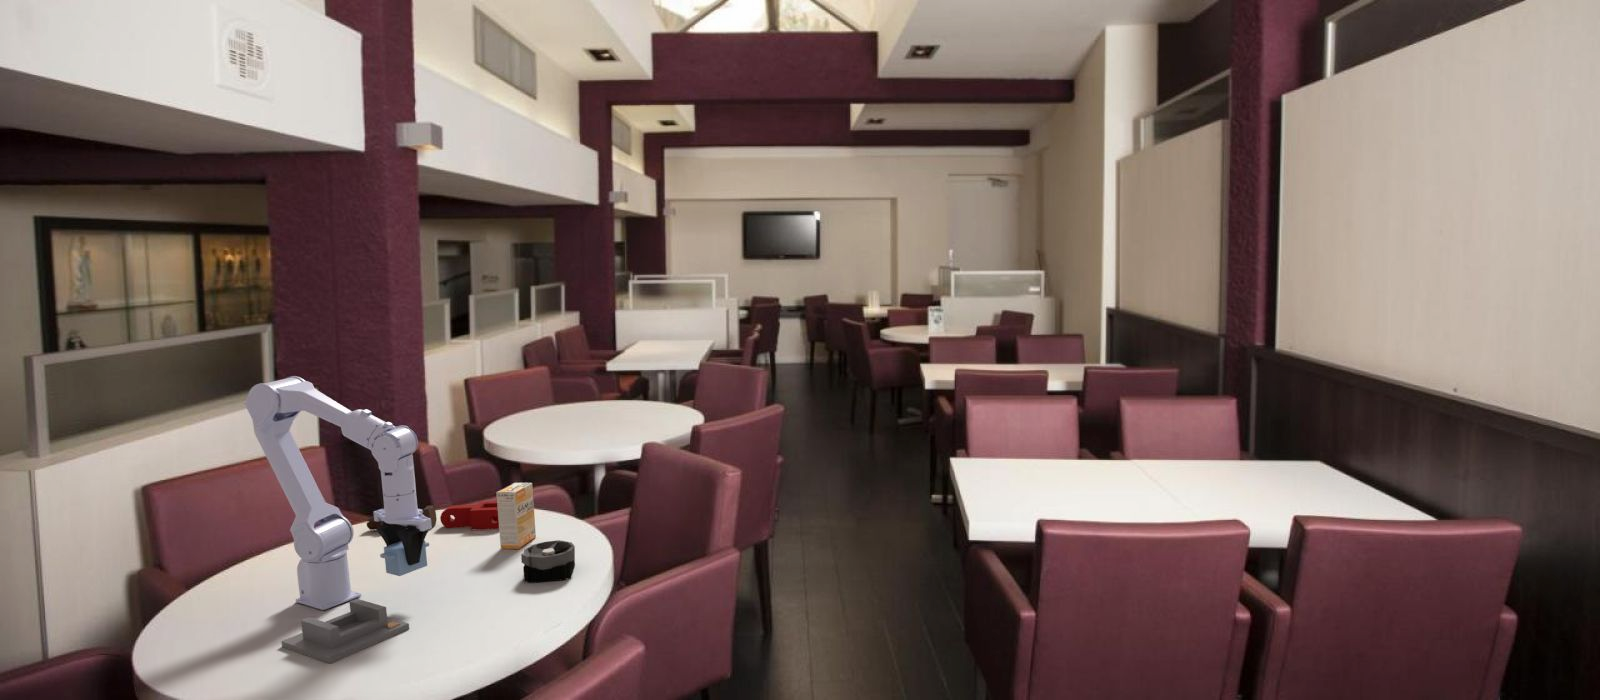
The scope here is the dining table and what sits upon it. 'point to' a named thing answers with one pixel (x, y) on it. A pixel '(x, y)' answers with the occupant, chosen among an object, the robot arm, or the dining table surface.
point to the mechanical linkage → (472, 516)
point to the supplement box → (516, 515)
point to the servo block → (401, 559)
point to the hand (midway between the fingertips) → (406, 561)
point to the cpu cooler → (548, 561)
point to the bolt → (427, 512)
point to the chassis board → (345, 632)
